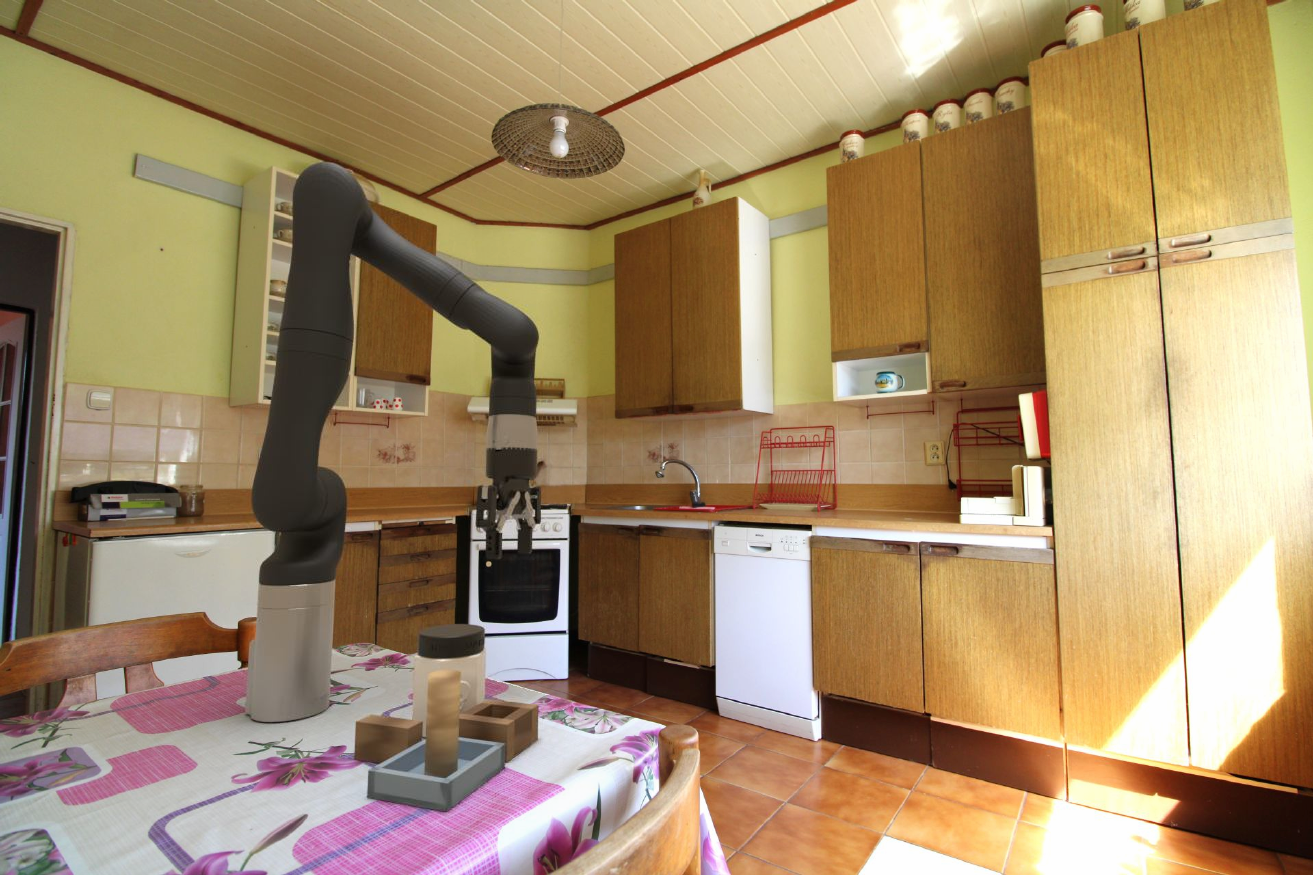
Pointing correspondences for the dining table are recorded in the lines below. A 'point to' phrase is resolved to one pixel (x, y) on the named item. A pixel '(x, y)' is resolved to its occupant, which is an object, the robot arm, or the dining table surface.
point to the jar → (450, 664)
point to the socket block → (501, 724)
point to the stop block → (385, 737)
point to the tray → (411, 787)
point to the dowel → (442, 723)
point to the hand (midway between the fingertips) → (509, 556)
